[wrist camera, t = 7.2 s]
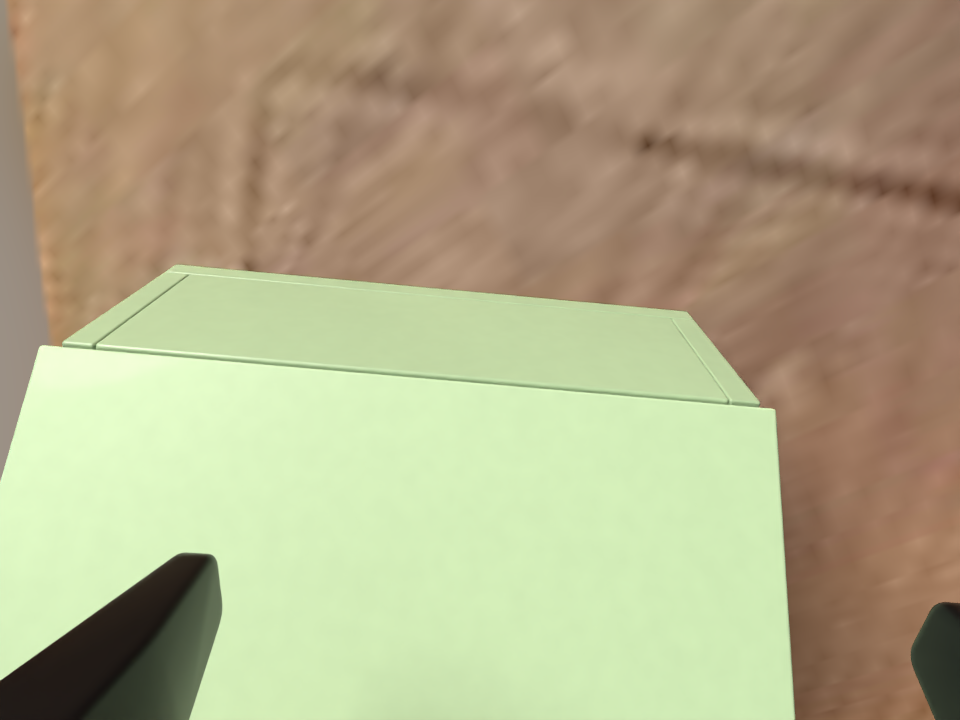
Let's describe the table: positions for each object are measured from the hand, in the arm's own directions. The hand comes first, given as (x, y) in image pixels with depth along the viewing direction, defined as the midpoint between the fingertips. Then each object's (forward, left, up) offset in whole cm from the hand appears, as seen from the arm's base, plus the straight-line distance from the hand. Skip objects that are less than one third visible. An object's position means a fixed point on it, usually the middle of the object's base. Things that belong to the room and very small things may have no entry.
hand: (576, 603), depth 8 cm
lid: (-5, +3, -2) cm, 6 cm away
